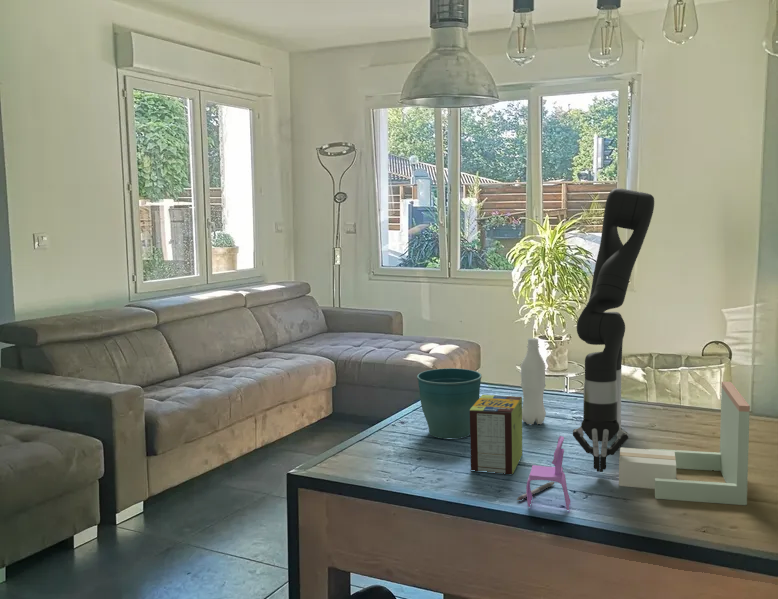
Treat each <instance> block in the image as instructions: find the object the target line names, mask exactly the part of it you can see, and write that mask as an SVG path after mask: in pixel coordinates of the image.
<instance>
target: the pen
mask: <svg viewBox="0 0 778 599" xmlns="http://www.w3.org/2000/svg"><path fill="white" fill-rule="evenodd" d="M554 484H555V482H554V481H548V482H546V483H544V484H542V485H540V486H538V487H536V488H534V489H532V490H531V493H532V495H533V494H534V495H536V494H537V493H540V491H541V492H542V490H543V491H544V489H545V490H547V489H549V488H551V487H553V485H554ZM548 487H549V488H548ZM546 488H547V489H546ZM535 493H536V494H535ZM534 495H533V496H534ZM526 497H527V494H526V493H524V494H521V495H520V496H518V497H517V498H516V501H517V500H522V499H524V498H525V499H527V498H526ZM525 499H524V500H525Z"/></svg>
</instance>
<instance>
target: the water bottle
mask: <svg viewBox="0 0 778 599" xmlns="http://www.w3.org/2000/svg"><path fill="white" fill-rule="evenodd" d="M526 344H527V346H526V348H527V350H526V353H525V355H524V357H523V359H522V361H521V363H520V364H521V365H520V378H521V381H520V386H521V388H522V393H523V394H522V396H523V397H522V423H524V422H526V423H525V424H527V425H528V424H531V425H530V426H533V425H534V424H535V423H536V425H538V424H540V425H542V424H543V423H544V421H545V418H546V413H547V412H546V408H545V404H544V393H545V392H544V391H545V389H546V369H547V368H546V367H547V366H546V363H545V361H544V359H543V357H542V355H541V354H540V353H541V352H540V351H539V348H540V346H539V338H528V339H527V343H526ZM532 424H533V425H532Z"/></svg>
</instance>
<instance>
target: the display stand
mask: <svg viewBox="0 0 778 599" xmlns="http://www.w3.org/2000/svg"><path fill="white" fill-rule="evenodd" d="M720 390H721V394H720V395H721V396H720V397H721V398H720V425H719V426H720V429H719V430H720V432H719V433H720V434H719V436H720V437H719V451H718V452H714V451H713V452H712V451H697V450H696V451H694V450H683V449H682V450H680V449H679V450H677V449H666V448H665V449H663V448H662V449H661V448H648V449H649V450H662V451H674V452H675V459H676V469H685V470H696V471H697V470H699V471H712V470H714V471H715V472H720V473H721V475H722V477H723V479H724V482H719V481H703V480H702V481H701V480H690V479H689V480H687V479H676V480H675V479H660V478H655V489H654V499H656V500H657V499H658V500H671V501H683V502H695V503H696V502H697V503H698V502H699V503H708V504H709V503H710V504H712V503H713V504H721V505H723V504H724V505H737V506H738V505H739V506H748V482H749V481H748V480H749V479H748V476H749V474H748V473H749V445H750V444H749V443H750V442H749V441H750V415H751V414H750V409H751V406H750V404H749V403H748V402H747V401H746V399H745V398H744V396H743V395H742V393H740V392H739V390H738V389H737V388H736V386H735V385H734V384H733V383H732V381H721V389H720Z"/></svg>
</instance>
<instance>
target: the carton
mask: <svg viewBox="0 0 778 599" xmlns="http://www.w3.org/2000/svg"><path fill="white" fill-rule="evenodd" d="M649 449H650V448H648V449H646V448H645V449H644V448H634V447H622V446H621V447H620V448H619V457H618V458H619V460H618V461H619V462H618V471H619V472H618V486H619V487H629V488H630V487H631V488H638V489H640V488H641V489H649V490H650V489H651V490H655V478H660V479H675V480H677V468H676V459H675V452H674V451H662V450H649Z"/></svg>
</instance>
